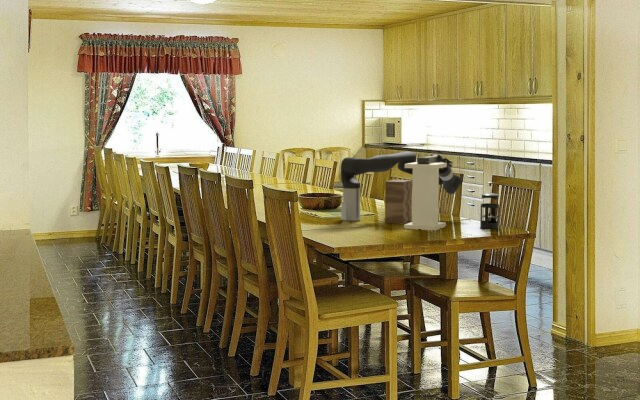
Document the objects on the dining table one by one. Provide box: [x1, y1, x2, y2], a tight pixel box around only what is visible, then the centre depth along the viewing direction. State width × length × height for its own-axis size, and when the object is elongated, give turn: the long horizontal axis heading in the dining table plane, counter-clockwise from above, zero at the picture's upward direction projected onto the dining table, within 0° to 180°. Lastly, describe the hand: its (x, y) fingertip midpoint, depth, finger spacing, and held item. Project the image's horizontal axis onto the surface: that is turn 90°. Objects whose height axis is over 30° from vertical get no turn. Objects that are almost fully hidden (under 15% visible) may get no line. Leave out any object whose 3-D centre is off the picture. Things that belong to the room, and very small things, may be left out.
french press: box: [479, 181, 500, 230], centre depth 412 cm, size 12×9×23 cm
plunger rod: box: [416, 154, 443, 164], centre depth 419 cm, size 26×6×3 cm, turn 152°
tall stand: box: [403, 161, 447, 232], centre depth 415 cm, size 16×16×32 cm
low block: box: [384, 179, 413, 225], centre depth 437 cm, size 12×10×22 cm
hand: (434, 156), depth 424 cm, fingers closed on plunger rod, 3 cm apart
